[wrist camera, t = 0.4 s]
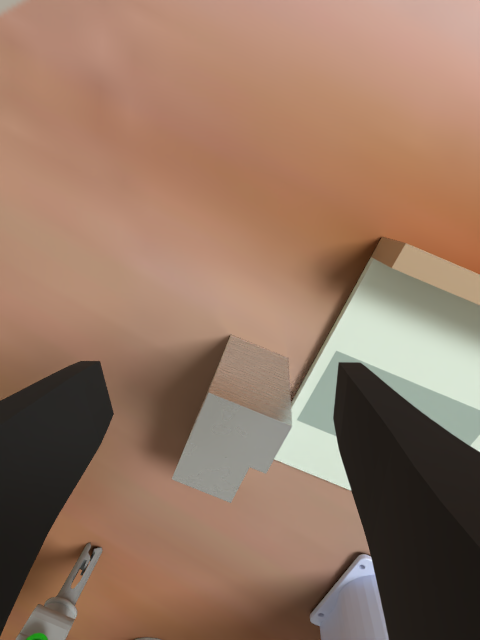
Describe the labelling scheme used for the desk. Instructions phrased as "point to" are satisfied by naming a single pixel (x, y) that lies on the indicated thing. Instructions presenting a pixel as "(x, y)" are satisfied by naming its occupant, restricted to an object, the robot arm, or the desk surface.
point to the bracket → (238, 420)
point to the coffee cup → (147, 638)
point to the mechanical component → (60, 604)
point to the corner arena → (396, 353)
